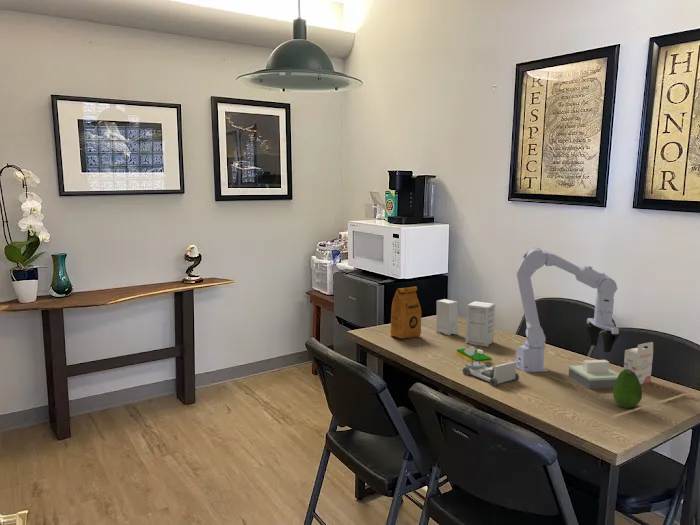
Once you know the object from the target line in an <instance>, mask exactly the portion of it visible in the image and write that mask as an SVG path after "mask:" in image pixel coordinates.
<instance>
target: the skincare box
mask: <svg viewBox="0 0 700 525" xmlns="http://www.w3.org/2000/svg"><path fill="white" fill-rule="evenodd" d="M458 306H459V304H458V301H456V300H451V299H446V298H443V299H438V300H436V323H435V324H436V329H435V330H436V331H438V332H437V333H439V332H441V333H440V334H442V333H444V334H443V335H445V334H447V335H446V336H451V334H455V335H458V331H459V330H458V327H459V326H458V323H459V321H458V320H459V319H458V318H459V317H458V314H459V313H458V312H459V310H458V309H459V308H458Z"/></svg>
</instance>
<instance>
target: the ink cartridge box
mask: <svg viewBox="0 0 700 525" xmlns="http://www.w3.org/2000/svg"><path fill="white" fill-rule="evenodd" d="M645 347H646V348H645ZM623 358H624V359H623V360H624V361H623V370H625V369H628V370H631V371H633V372H634V373H635V374H636V376H637V378H638V380H639V382H640V385H643V384H647V383H651V379H652V370H653V368H652V367H653V358H654V342H653V341H650V342H645V343H641V344H640V343H639V344H637V347H635V348H629V349H625V350H624V357H623Z"/></svg>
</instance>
